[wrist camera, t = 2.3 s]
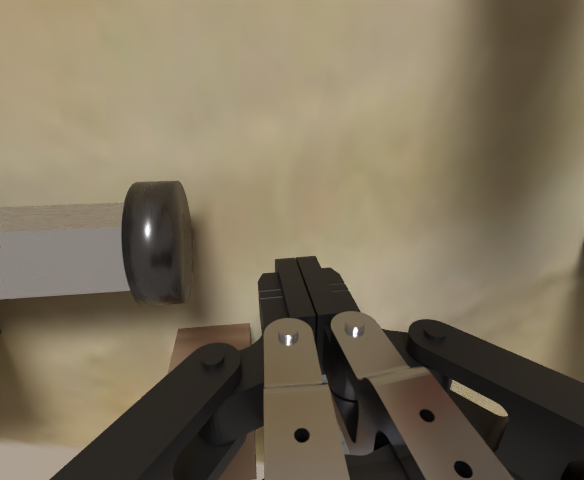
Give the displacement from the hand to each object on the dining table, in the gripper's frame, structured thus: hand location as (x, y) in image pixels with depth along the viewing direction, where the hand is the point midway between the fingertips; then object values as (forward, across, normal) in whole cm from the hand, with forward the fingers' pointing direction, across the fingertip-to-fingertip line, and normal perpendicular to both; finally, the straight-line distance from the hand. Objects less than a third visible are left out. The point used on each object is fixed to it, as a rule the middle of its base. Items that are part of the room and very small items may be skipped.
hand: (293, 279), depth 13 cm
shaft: (+6, +11, -1) cm, 13 cm away
